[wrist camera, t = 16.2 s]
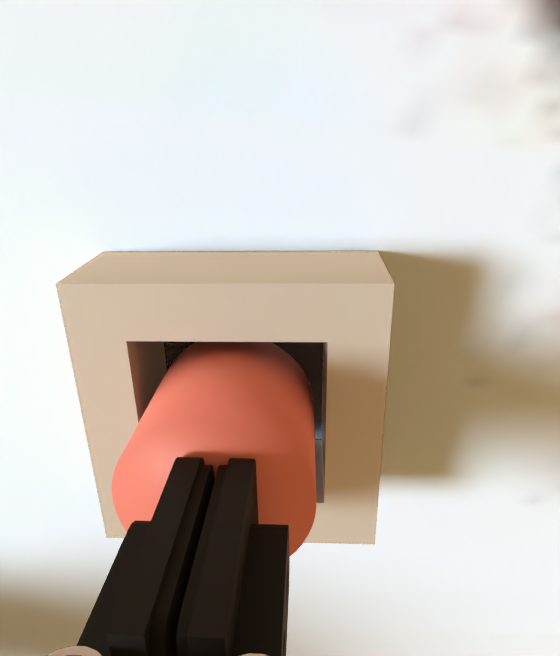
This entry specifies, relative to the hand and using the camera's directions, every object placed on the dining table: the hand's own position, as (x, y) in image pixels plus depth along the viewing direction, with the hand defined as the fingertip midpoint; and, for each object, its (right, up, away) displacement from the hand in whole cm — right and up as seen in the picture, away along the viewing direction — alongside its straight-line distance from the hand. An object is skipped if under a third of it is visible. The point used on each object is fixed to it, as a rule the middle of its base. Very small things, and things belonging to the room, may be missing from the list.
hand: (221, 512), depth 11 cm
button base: (0, +2, +5) cm, 6 cm away
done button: (0, +2, +4) cm, 4 cm away
